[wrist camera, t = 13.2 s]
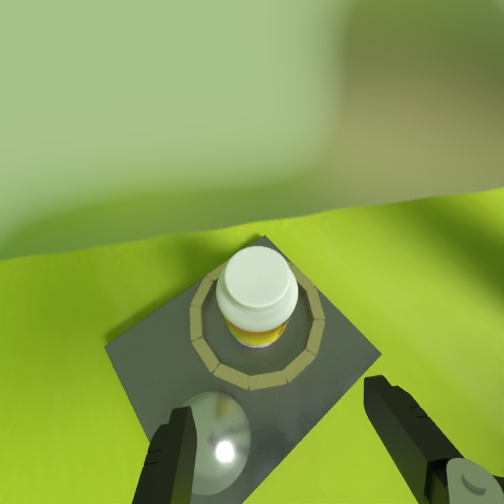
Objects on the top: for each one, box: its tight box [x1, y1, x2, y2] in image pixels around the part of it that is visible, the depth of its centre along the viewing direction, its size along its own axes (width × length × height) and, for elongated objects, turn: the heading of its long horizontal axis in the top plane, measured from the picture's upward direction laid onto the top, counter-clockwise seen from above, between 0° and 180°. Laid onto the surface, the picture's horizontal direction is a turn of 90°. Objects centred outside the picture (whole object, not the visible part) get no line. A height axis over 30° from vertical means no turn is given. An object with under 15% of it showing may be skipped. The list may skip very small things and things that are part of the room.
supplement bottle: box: [216, 246, 298, 348], centre depth 19 cm, size 6×6×10 cm
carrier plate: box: [104, 235, 381, 504], centre depth 22 cm, size 19×16×2 cm
